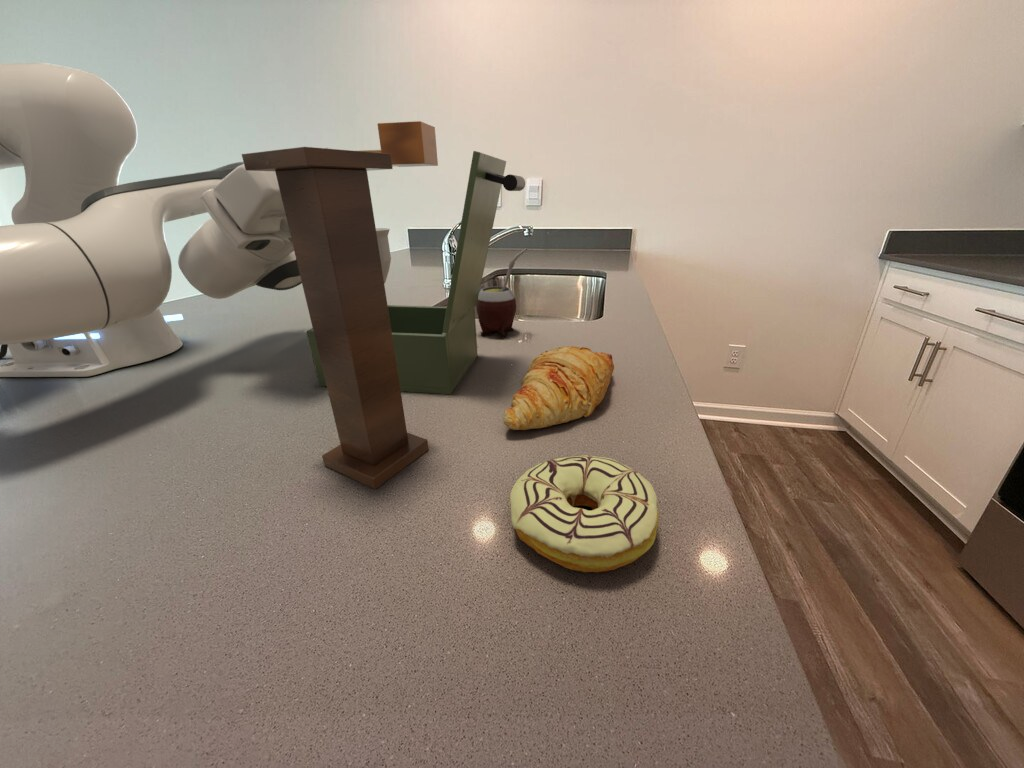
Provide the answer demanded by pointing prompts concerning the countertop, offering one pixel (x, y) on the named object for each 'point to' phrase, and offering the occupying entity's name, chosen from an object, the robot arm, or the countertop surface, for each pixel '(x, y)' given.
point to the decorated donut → (585, 512)
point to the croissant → (560, 388)
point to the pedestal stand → (346, 303)
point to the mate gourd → (497, 307)
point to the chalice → (384, 250)
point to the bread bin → (424, 348)
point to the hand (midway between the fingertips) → (344, 155)
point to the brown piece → (408, 143)
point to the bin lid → (476, 233)
